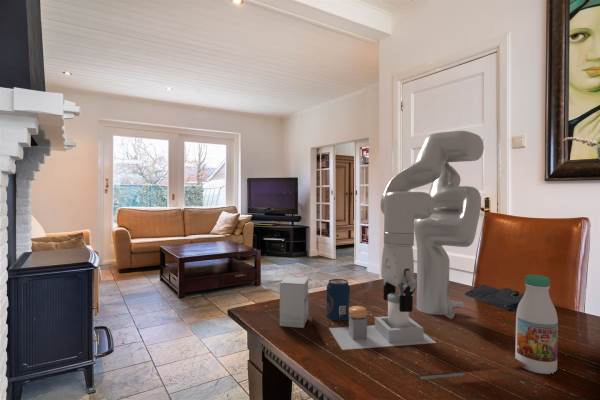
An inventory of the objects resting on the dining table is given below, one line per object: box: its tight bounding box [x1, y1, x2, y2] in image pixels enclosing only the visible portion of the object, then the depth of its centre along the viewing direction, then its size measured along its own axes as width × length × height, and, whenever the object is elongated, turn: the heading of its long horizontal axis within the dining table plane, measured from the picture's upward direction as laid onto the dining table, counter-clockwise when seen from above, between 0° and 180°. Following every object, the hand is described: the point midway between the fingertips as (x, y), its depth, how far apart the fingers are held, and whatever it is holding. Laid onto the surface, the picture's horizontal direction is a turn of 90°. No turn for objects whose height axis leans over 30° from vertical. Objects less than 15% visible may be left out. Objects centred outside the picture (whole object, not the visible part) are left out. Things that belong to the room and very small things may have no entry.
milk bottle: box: [514, 274, 559, 375], centre depth 77 cm, size 8×8×20 cm
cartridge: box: [387, 292, 410, 328], centre depth 91 cm, size 5×5×10 cm
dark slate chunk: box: [464, 284, 525, 313], centre depth 124 cm, size 15×22×5 cm
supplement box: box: [279, 276, 309, 329], centre depth 103 cm, size 7×7×13 cm
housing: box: [328, 315, 437, 351], centre depth 91 cm, size 24×13×6 cm, turn 99°
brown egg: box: [349, 305, 368, 319], centre depth 90 cm, size 4×4×6 cm
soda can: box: [325, 278, 351, 322], centre depth 104 cm, size 7×7×12 cm
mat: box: [416, 371, 465, 380], centre depth 78 cm, size 10×10×1 cm
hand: (397, 305), depth 91 cm, fingers open, 9 cm apart
